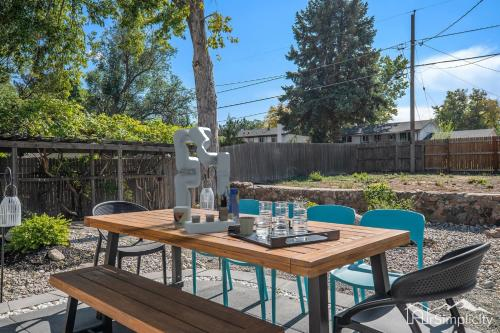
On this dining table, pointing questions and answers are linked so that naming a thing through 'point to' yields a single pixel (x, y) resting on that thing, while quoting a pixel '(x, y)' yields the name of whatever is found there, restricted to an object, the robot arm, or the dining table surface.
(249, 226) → the flower pot
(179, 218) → the coffee cup
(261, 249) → the dining table surface
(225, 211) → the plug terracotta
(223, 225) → the socket board
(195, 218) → the plug left
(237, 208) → the beverage box
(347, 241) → the dining table surface
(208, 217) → the plug middle
